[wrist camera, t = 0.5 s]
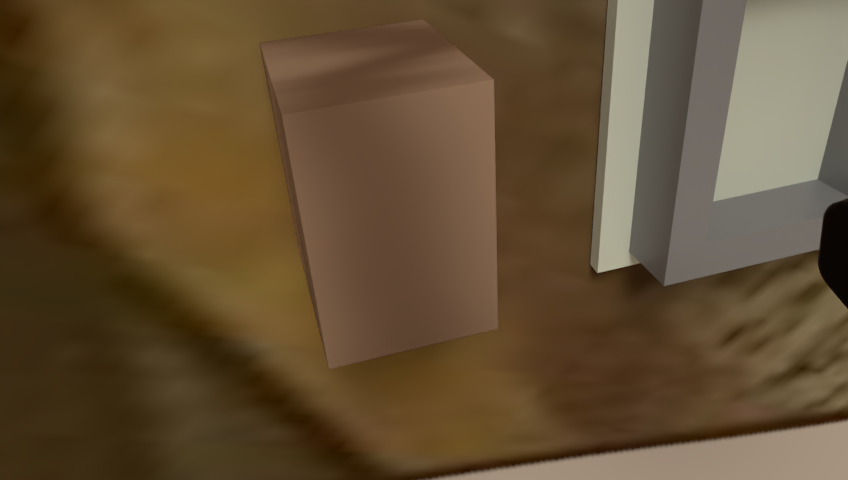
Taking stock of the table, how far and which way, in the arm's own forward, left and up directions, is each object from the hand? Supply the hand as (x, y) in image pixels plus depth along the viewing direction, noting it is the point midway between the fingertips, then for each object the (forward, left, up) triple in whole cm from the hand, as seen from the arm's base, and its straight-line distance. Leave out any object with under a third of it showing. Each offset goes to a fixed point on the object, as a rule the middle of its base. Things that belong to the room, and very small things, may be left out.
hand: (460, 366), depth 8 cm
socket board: (-13, +2, -11) cm, 17 cm away
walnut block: (-1, +2, -12) cm, 12 cm away
